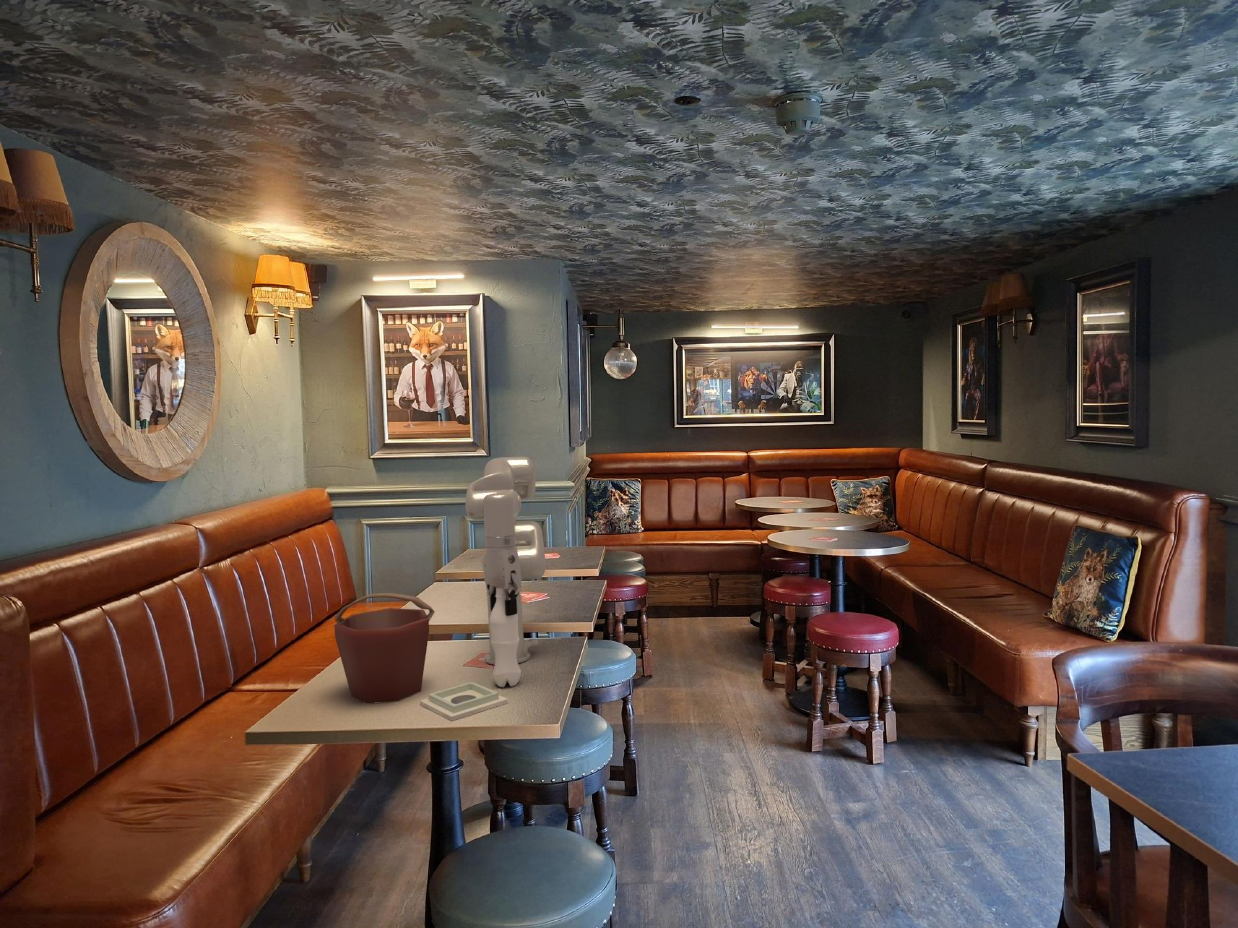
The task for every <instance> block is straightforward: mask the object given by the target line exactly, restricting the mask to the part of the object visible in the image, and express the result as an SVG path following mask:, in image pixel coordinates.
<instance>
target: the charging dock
mask: <svg viewBox="0 0 1238 928" xmlns="http://www.w3.org/2000/svg"><path fill="white" fill-rule="evenodd" d="M427 697H428V698H425V699H421V700H419V704H420V706H422V707H424V708H425V709H427V710H429V711H432V712H434V713H436V714H437V715H440V716H441V717H443V718H445V719H447V720H449V721H451V722H453V721H456V720H459V719H463V718H466V717H469V716H471V715H475V714H478V712H479V713H481V711H482V712H484V711H483V710H485V711H487V709H488V710H491V709H494V708H496V706H497V707H500V706H502V705H503V704H504V705H506V704H509V699H508V698H506V697H504V696H502V695H500V694H499V692H498V691H495V690H493V689H490V688H487V687H485V686H483V685H482V684H478V683H476V682H474V681H470V682H466V683H463V684H460V685H455V686H452V687H448V688H445V689H441V690H438V691H435V692H431V693H428V695H427ZM504 705H503V706H504ZM493 707H494V708H493ZM490 708H491V709H490Z"/></svg>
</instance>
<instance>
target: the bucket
mask: <svg viewBox="0 0 1238 928" xmlns="http://www.w3.org/2000/svg"><path fill="white" fill-rule="evenodd" d="M377 598H390V599H397V600H402V601H407V602H411V603H413V605H415V606H416V607H417V608H420V609H415V608H414V609H413V608H397V607H396V608H394V607H393V608H392V607H390V608H384V609H379V610H372V611H366V612H360V613H354V614H350V615H349V616H347V617H346V618H344V617H343V615H344V613H346V612H347V610H348V609H349V608H351V607H352V606H355V605H356V604H359V603H360V602H363V601H365V600H367V599H377ZM425 610H428V613H426V611H425ZM435 612H436V611H435V610H434V609H433V608H432V606H430V605H429V604H428V603H426V602H424V600H422V599H420V597H419V596H414V595H409V594H402V593H394V592H379V593H369V594H367V595H364V596H363V597H360V598H358V599H355V600H354V601H352V602H350V603H349V604H347V605H345V606H344V607H342V608H341V609H340V610H339V611H338V612H337V614H336V615H335V616H334V622H335V623H336V624H334V625H333V626H334V639H335V642H336V645H337V649H338V653H339V657H340V659H341V663H342V667H343V671H344V674H345V679H346V682H347V686H348V688H349V692H350V696H351V698H353V697H354V698H353V699H354V700H357V699H358V700H357V701H360V702H362V703H364V702H365V703H364V704H366V703H369V704H376V703H375V702H381V703H390V702H399V701H400V702H401V700H404V699H406V697H407V698H409V697H411V696H414V695H416V694H417V693H420V692H421V691H422V686H423V679H424V671H425V664H426V657H427V656H426V655H427V649H428V641H429V635H430V621H431V619H432V618H433V616H434V614H435Z"/></svg>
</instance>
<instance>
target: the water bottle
mask: <svg viewBox="0 0 1238 928" xmlns="http://www.w3.org/2000/svg"><path fill="white" fill-rule="evenodd" d="M495 597H496V603H495V606H494V608H493V610H492V612H491V615H490V630H491V644H492V646H493V649H494V652H495V665H494V668H493V671H492V679H493V682H495V684H496V685H497V686H498V687H500V688H505V687H506V684H507V683H508V684H509V686H510V687H514V686H516V685H517V684H518V683H519V681H520V679H521V677H522V670H521V668H520V666H519V663H518V662H517V656H516V652H517V647H518V643H519V636H518V616H517V614H515V615H511V616H506V615H505V600H506V596H505V592H504V589H502V588H498V587H496V596H495Z"/></svg>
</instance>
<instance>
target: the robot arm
mask: <svg viewBox="0 0 1238 928" xmlns="http://www.w3.org/2000/svg"><path fill="white" fill-rule="evenodd" d="M535 493H536V469H535V465H534V462H533V461H532V460H531V459H530V458H529V457H527V456H506V457H505V456H503V457H495V458H492V459H491V460H489V461H488V462H487V463H486V465H484V473H483V477H480V478H479V479H477V480H474V481H473V482H471V483H470V484H469V486H468V487H467V490H466V495H465V512H466V514H467V517H469V519H471V520H473V521H474V520H475V521H481V520H482V521H483V522H484V523H483V524H484V541H485V543H484V544H485V545H484V547H485V552H484V554H483V556H482V561H481V562H482V563H481V565H482V566H481V567H482V571H483V576H484V578H483V580H484V583H485V587H486V598H487V599H486V601H487V614H488V616H487V619H488V620H487V621H488V638H489V652H488V653H486V654H485V655H484V661H485V663H487V664H489V665H492V664H493V665H494V666H495V652H494V649H493V646H492V644H491V630H490V615H491V612H492V610H493V608H494V606H495V603H496V597H495V596H496V587H498V588H502V589H504V592H505V596H506V600H505V615H506V616H511V615H515V614H517V616H518V636H519V643H518V647H517V652H516V656H517V662H518V664H521V663H523V662H526V661H527V660H529V659H530V658H531V653H530V651H528V650H530V648H534V647H538V646H539V641H538V639H537V638H536V639H531V640H529V639H524V621H523V620H524V619H523V604H522V603H523V601H522V599H523V598H522V594H521V592H520V591H521V590H522V587H523V586H522V581H530V580H538V579H541V578H542V577H543V576H544V575H545V573H546V567H547V566H546V563H547V562H546V554H545V544H544V535H543V530H542V528H541V525H540V524H539V523H538V522H536V521H534V520H520V521H518V520H516V519H517V518H516V516H518V514H519V513H520V511H522V510H521V509H522V501H528V500H531V499H533V497H534V496H535Z"/></svg>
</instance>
